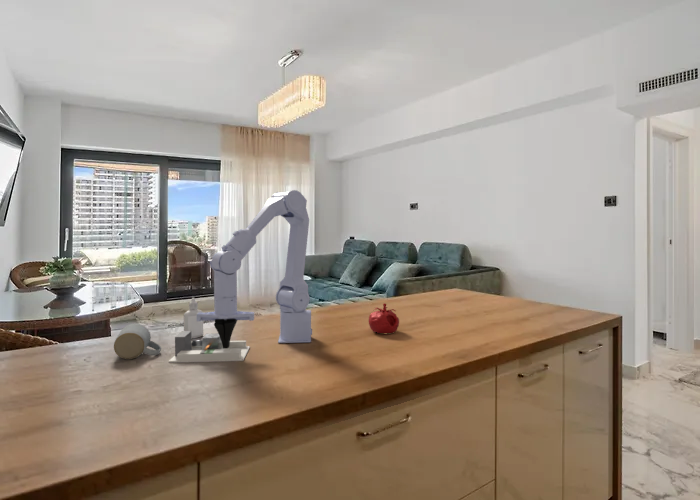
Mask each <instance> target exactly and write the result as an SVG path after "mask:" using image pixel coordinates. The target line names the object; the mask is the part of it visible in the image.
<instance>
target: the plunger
mask: <svg viewBox="0 0 700 500" xmlns="http://www.w3.org/2000/svg"><path fill="white" fill-rule="evenodd" d="M199 346H202V350H203V349H204V350H207V349H221V348H222V342H221V338H220V336H219V334H218V332H217V333H206V334H205V335H204V336H202V339H196V340H193V339H192V347H199Z"/></svg>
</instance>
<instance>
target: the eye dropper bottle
mask: <svg viewBox="0 0 700 500" xmlns="http://www.w3.org/2000/svg"><path fill="white" fill-rule="evenodd" d="M198 306H199V304H198V301H196V298H195V297H191V301H190V302H188V310H187V311H185V312H184V314H183V331H191V337H192V340H193V339H197V338H200V337H204V336H203V335H204V321H197V314H198V313H203V312H204V311H203V310H201V309H199V307H198Z"/></svg>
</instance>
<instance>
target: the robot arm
mask: <svg viewBox="0 0 700 500" xmlns="http://www.w3.org/2000/svg"><path fill="white" fill-rule="evenodd" d="M307 202H308V200H307V198H305V195H303V194H302V192H301V191H298V190H297V189H293V190H289V191H276V192H274V193H273V194H272V195H271V197H269V198H268V199H267V200H266V201H265V204H264V205H263V206H262V208H261V209H260V210H259V212H258V213H257V214H256V215H255V217H254V218H253V219H252V221H250V223H249V225H248V226H247V227H246V228H239V229H238V230H235V231H234V232H233V233H232V235H233V237H232V236H231V238H230V240H228V242H227V243H226V244H223V245H222V246H221V250H220V251H217V252H215V253H214V254H213V255H212V257H211V260H210V261H209V266H210V268H211V269H212V270H213V272H214V273H213V278H214V279H213V282H214V283H213V284H214V285H213V290H214V291H213V293H214V295H213V297H214V301H213V302H214V304H213V305H214V309H213V310H214V311H207V312H204V311H202V312H203V313H198V314H197V321H203V322H206V321H207V322H208V321H209V322H210V321H211V322H212V321H214V323H213V326H214V328H215V330H216V331H217V333H218V334H219V336H220V338H221V342H222V346H223V348H228V347H229V344H230V341H231V338H232V335H233V332H234V329H235V327H236V324H237V322H238V321H250V322H251V321H254V320H255V312H254V311H242V310H241V311H239V310H238V274H237V272H238V270H240V269H241V266H242V260H244V258H245V257H246V256H247V254H248V253H249V252H250V251H251V250H252V248H254V246H255V245H256V244H257V236H258V235H259V234H260V233H261V231H263V229H265V227H266V226H268V224H269V223H270V222H271V221H272V220H273V219H274V218H276V217H279V216H281V217H282V218H283V219H285V221H286V222H287V223H288V224H289V234H288V236H289V237H288V244H287V245H288V246H287V253H286V254H287V255H286V265H285V273H284V274H285V275H284V277H283V279H282V280H281V281H280V282H279V287H278V290H277V291H276V294H275V301H276V304H278V305H279V311H280V312H279V313H280V314H279V315H280V316H279V317H280V320H279V327H280V331H279V336H278V341H277V343H278V344H286V343H287V344H288V343H289V344H296V343H312V335H313V329H312V310H311V309H307V308H308V306H309V303H310V295H309V284H308V283H307V281H305V279H304V275H305V265H306V256H307V248H308V247H307V246H308V235H309V228H310V226H309V225H310V218H309V214H308V210H307Z"/></svg>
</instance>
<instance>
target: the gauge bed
mask: <svg viewBox="0 0 700 500" xmlns="http://www.w3.org/2000/svg"><path fill="white" fill-rule="evenodd" d="M192 341H193V339H192V337H191V331H184V330H182V331H181V332H179V333H178V334H176V336H174V356H172V357H171V358H170V359H169V360H168V363H169V364H171V363H173V364H174V363H205V362H206V363H207V362H209V363H210V362H215V363H216V362H243V361H244V360H245V358H246V356H247V355H248V352H249V350H250V348H251V346H250V345H247V340H230V344H229V347H228V348H223V346H222V348H221V349H207V350H204V349H203V350H202V346H199V347H192Z"/></svg>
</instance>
